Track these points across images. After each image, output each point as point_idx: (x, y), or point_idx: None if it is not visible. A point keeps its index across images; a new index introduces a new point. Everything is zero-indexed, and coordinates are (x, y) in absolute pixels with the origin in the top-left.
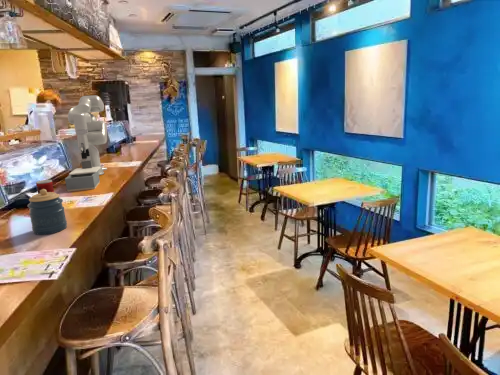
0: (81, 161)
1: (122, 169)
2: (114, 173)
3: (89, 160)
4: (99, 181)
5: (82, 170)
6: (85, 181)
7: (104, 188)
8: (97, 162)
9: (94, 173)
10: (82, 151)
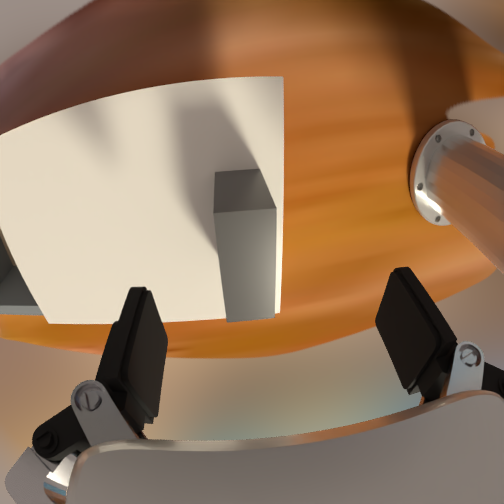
0: (214, 217)
1: (467, 283)
2: None
3: (260, 304)
4: None
5: (95, 211)
6: None
7: None
8: (477, 245)
9: (38, 310)
10: (65, 426)
